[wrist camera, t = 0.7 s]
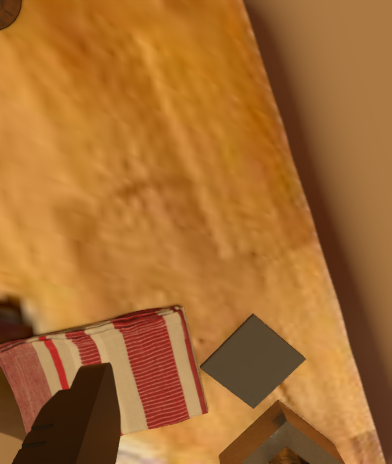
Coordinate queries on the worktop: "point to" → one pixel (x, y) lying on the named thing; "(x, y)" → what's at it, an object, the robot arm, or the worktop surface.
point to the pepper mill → (8, 11)
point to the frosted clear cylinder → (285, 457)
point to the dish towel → (114, 367)
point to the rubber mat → (252, 361)
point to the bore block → (280, 440)
